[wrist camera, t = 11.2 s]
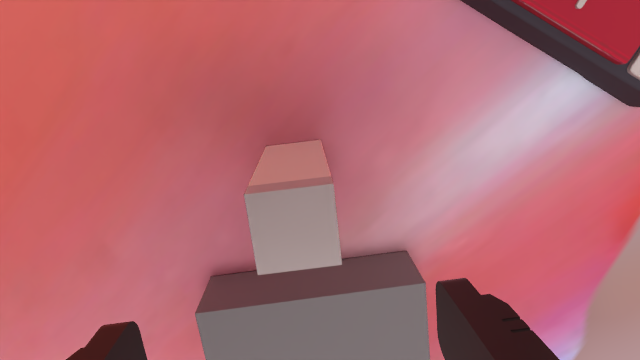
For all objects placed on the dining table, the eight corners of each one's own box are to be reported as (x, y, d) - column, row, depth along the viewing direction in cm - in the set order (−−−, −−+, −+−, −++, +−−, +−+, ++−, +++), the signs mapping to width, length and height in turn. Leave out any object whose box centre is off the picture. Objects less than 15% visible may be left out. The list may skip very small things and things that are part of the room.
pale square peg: (273, 198, 27) (257, 275, 17) (265, 146, 26) (244, 194, 16) (326, 191, 27) (342, 264, 17) (320, 139, 26) (333, 183, 16)
